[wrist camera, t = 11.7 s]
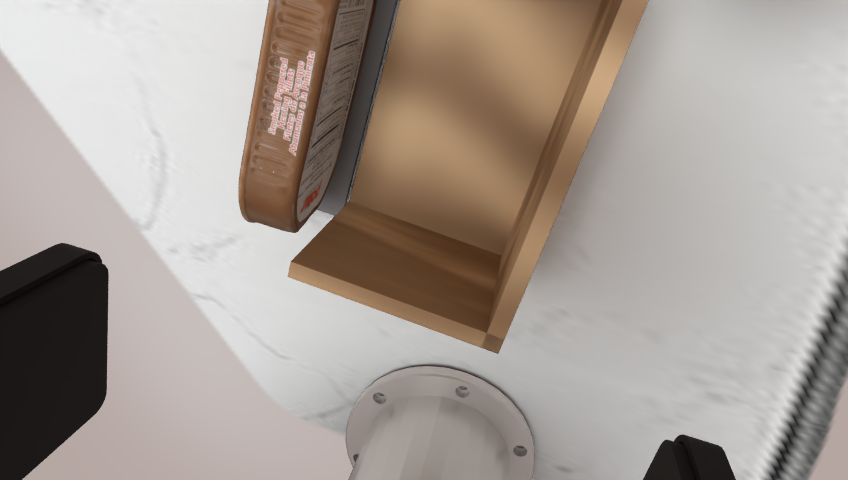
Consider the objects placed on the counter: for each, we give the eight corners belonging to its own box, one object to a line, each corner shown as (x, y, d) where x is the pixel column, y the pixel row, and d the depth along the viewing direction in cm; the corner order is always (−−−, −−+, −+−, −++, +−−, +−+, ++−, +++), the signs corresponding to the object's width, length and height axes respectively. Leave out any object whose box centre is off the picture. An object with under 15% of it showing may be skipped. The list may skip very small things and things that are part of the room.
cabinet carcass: (510, 268, 34) (495, 372, 25) (349, 210, 35) (274, 290, 25) (630, -28, 27) (672, -39, 18) (427, -93, 28) (364, -136, 19)
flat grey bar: (342, 216, 35) (341, 217, 35) (273, 191, 35) (271, 193, 35) (423, -102, 28) (421, -103, 28) (336, -130, 28) (334, -131, 28)
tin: (346, -93, 28) (271, -125, 21) (407, -73, 28) (354, -98, 21) (288, 189, 35) (214, 244, 27) (338, 207, 35) (278, 267, 27)
